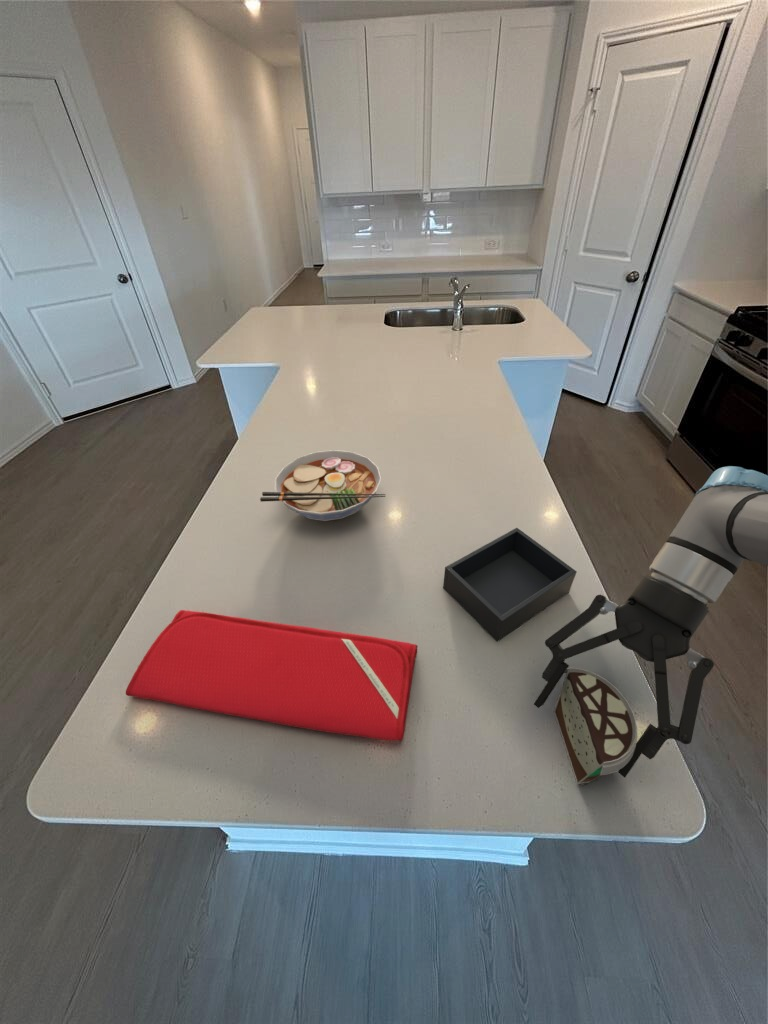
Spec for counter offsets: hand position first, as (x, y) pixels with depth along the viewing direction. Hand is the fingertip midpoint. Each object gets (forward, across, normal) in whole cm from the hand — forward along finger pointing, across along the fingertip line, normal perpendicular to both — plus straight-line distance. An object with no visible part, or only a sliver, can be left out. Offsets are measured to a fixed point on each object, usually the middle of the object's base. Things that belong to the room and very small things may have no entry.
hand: (577, 736), depth 55 cm
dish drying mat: (+19, +36, +12) cm, 43 cm away
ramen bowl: (-3, +63, -10) cm, 64 cm away
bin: (-9, +22, -15) cm, 28 cm away
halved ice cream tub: (+2, -1, -5) cm, 5 cm away
